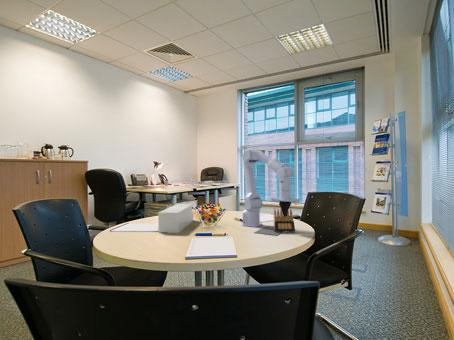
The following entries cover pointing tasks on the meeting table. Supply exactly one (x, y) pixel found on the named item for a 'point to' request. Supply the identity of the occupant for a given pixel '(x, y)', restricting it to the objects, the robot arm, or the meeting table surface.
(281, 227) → the ammunition clip
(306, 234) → the meeting table surface
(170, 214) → the light grey rectangular block
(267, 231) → the rubber mat
